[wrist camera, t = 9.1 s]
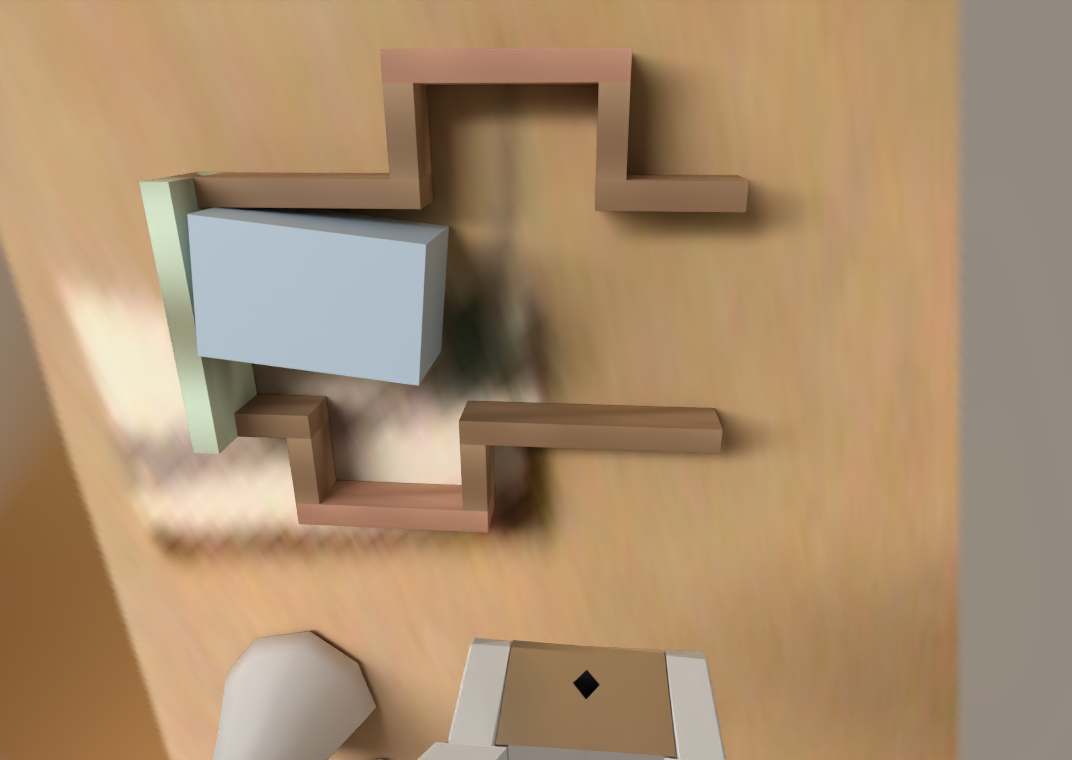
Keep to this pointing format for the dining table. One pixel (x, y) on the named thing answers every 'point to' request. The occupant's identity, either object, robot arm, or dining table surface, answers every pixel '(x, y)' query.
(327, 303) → the brick
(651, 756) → the robot arm
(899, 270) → the dining table surface
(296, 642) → the flask
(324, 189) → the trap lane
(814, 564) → the dining table surface
